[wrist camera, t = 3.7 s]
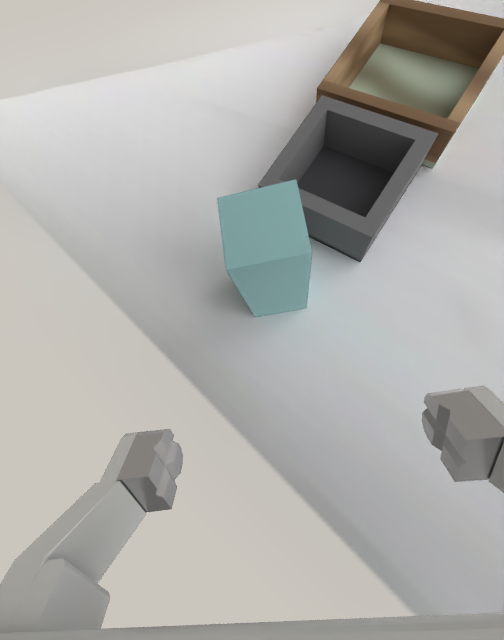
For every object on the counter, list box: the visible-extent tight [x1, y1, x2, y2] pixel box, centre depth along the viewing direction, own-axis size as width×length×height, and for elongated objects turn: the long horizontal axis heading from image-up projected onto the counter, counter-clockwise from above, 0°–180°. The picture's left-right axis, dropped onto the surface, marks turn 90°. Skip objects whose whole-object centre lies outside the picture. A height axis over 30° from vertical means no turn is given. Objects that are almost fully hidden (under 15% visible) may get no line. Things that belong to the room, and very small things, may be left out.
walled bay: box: [316, 0, 504, 168], centre depth 25 cm, size 12×12×4 cm
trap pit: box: [258, 95, 438, 262], centre depth 23 cm, size 10×10×4 cm
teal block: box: [217, 179, 312, 317], centre depth 19 cm, size 4×4×10 cm
